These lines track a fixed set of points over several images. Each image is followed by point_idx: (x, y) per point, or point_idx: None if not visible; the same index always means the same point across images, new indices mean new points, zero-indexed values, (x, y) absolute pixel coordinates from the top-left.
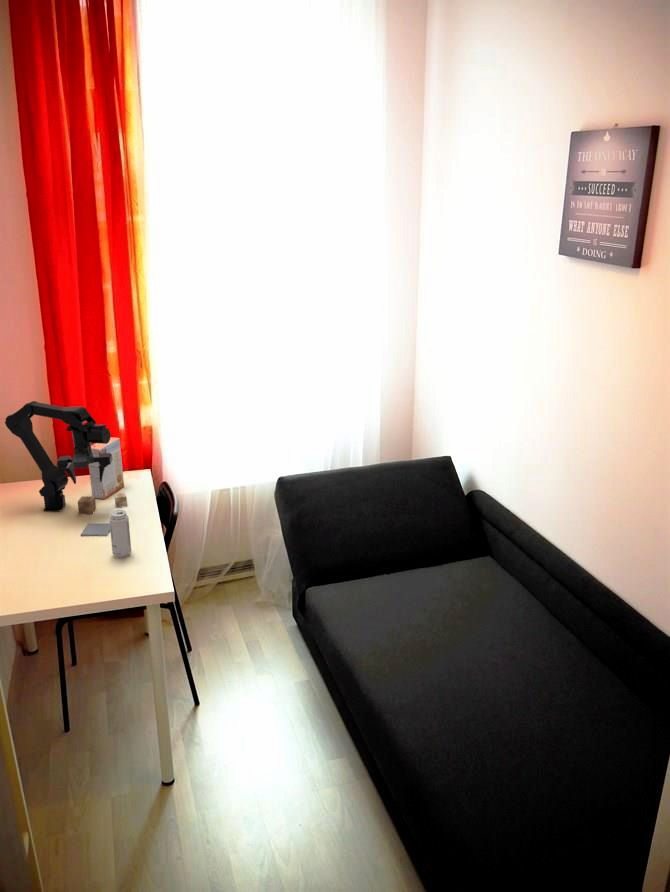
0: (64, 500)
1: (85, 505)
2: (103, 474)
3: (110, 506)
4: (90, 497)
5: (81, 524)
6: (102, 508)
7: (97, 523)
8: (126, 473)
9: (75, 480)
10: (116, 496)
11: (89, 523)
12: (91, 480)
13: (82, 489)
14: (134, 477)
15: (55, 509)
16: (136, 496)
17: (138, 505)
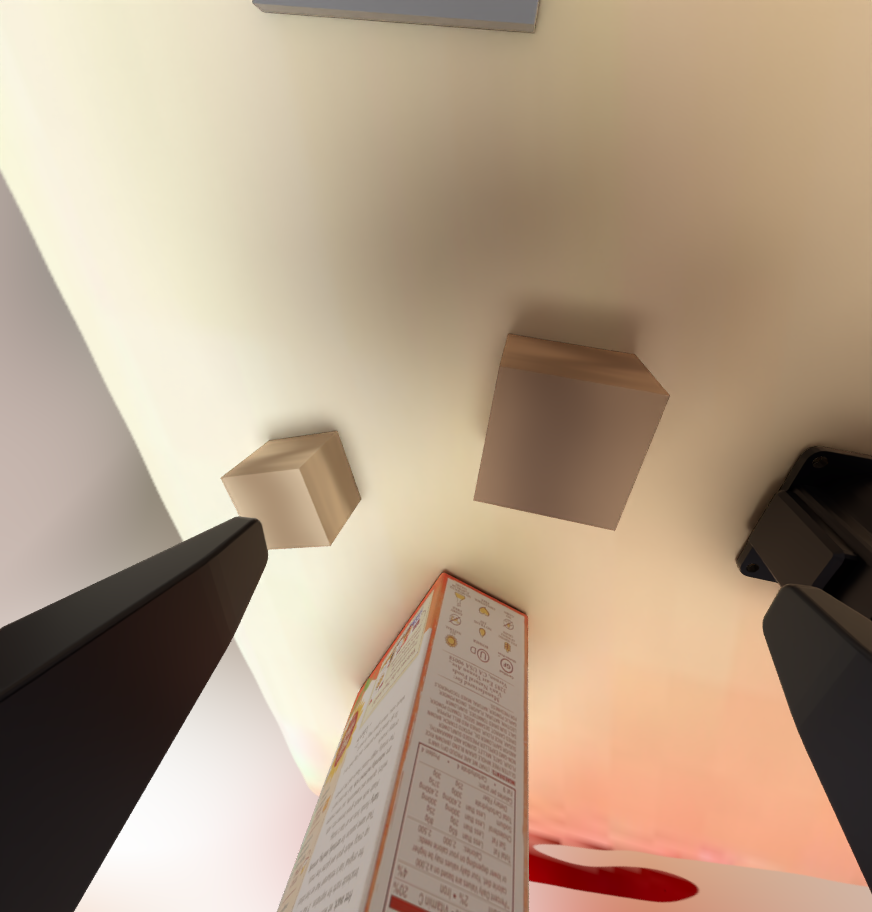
0: (780, 556)
1: (569, 365)
2: (382, 778)
3: (383, 457)
4: (517, 488)
5: (613, 51)
6: (437, 434)
7: (422, 4)
8: None
9: (816, 667)
10: (300, 497)
11: (516, 10)
12: (518, 746)
13: (597, 726)
14: None
15: (865, 469)
16: None
17: (199, 435)
